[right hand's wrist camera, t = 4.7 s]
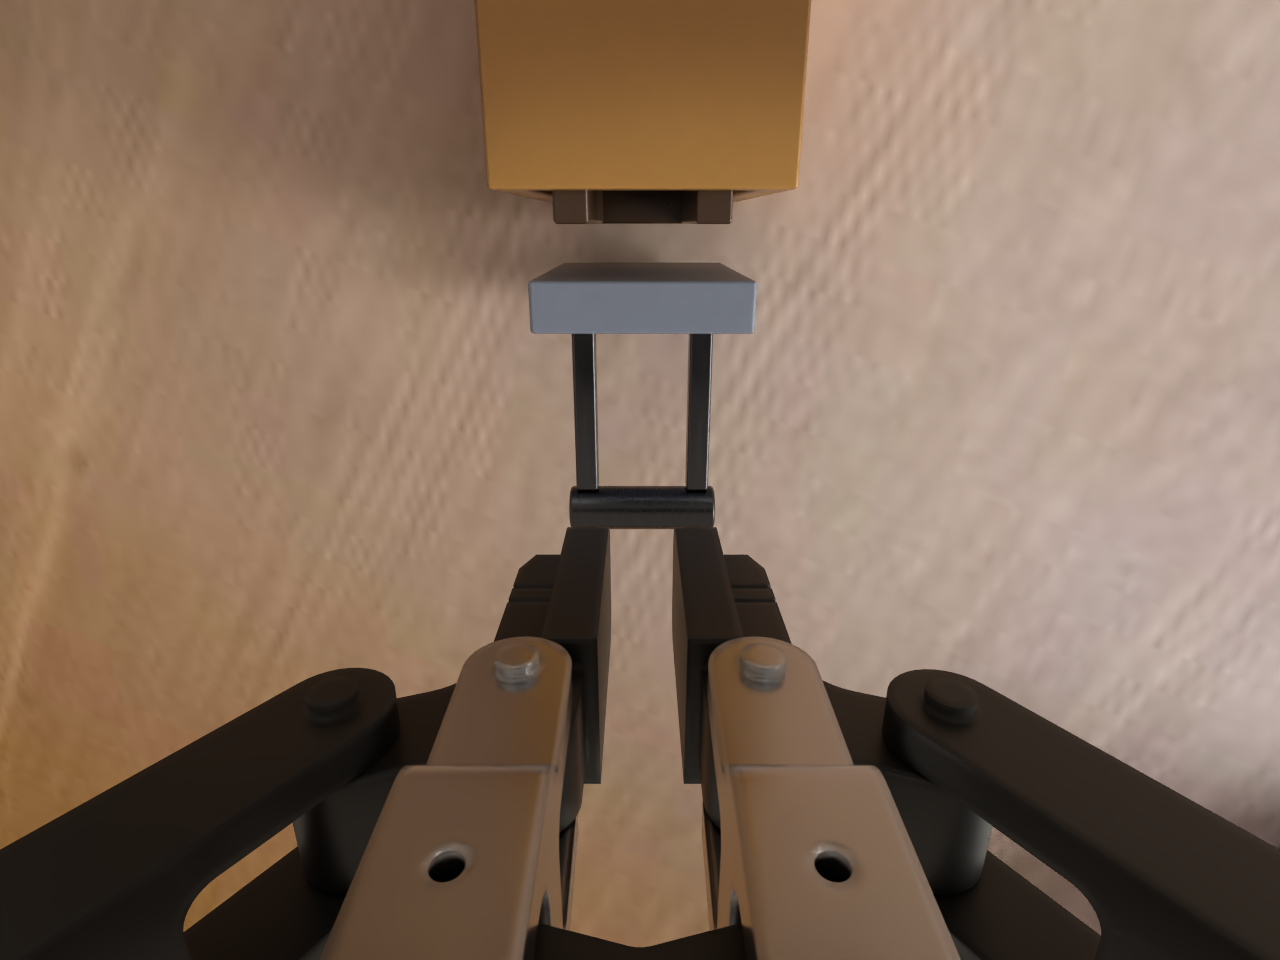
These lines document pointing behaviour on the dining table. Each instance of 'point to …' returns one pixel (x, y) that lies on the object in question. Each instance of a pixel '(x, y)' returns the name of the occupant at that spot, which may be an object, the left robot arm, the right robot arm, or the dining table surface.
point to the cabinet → (642, 94)
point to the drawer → (642, 306)
